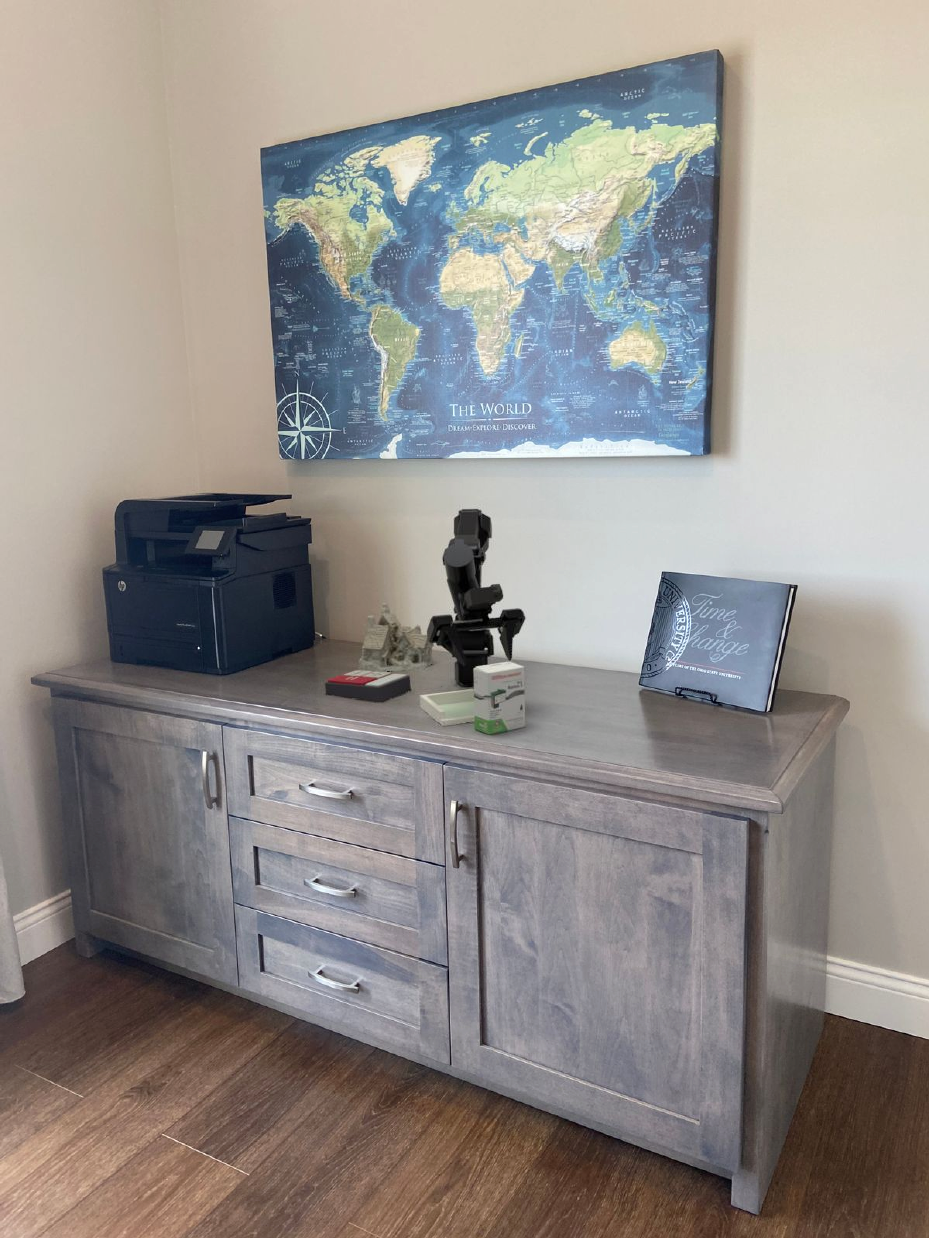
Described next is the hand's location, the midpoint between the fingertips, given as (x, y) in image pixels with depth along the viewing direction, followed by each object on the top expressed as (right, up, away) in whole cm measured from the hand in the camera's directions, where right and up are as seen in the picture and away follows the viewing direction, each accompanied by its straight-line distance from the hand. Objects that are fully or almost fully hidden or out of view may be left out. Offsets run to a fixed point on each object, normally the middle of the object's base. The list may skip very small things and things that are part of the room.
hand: (487, 661), depth 176 cm
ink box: (+2, -12, -3) cm, 13 cm away
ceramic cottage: (-21, -3, +49) cm, 53 cm away
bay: (-5, -10, +8) cm, 14 cm away
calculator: (-25, -8, +25) cm, 36 cm away
